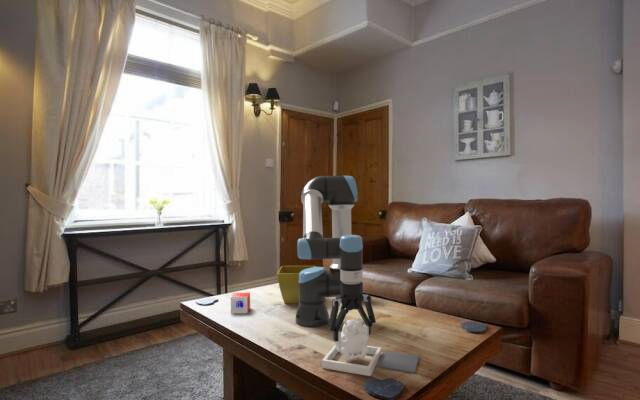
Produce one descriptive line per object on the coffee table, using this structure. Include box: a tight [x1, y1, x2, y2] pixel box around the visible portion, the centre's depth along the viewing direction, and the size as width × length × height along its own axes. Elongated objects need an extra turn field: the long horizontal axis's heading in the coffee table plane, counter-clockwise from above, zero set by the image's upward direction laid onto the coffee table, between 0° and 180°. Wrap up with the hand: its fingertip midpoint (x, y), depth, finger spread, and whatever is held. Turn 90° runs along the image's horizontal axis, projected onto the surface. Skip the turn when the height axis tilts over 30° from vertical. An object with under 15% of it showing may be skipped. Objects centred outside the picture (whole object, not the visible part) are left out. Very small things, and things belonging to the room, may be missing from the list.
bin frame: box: [321, 343, 382, 377], centre depth 121 cm, size 16×16×2 cm
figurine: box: [340, 317, 370, 361], centre depth 122 cm, size 10×10×12 cm
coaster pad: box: [375, 350, 420, 375], centre depth 120 cm, size 12×12×1 cm
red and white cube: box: [230, 292, 251, 314], centre depth 178 cm, size 8×8×8 cm
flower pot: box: [276, 265, 316, 304], centre depth 194 cm, size 19×19×17 cm
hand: (352, 347), depth 122 cm, fingers closed on figurine, 10 cm apart
